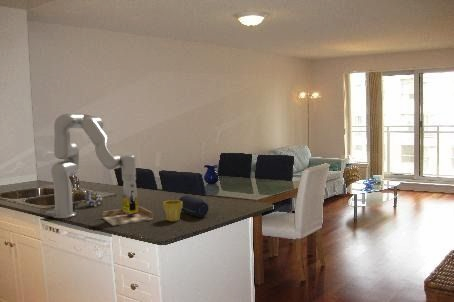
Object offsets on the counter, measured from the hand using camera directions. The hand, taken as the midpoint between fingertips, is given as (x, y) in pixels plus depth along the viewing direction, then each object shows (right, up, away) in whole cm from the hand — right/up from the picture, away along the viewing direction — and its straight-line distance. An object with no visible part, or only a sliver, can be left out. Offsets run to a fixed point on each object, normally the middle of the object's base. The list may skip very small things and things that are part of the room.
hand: (130, 208), depth 249 cm
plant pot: (+25, -5, -7) cm, 26 cm away
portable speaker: (+35, -4, +5) cm, 35 cm away
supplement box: (0, -3, 0) cm, 3 cm away
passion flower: (-32, -3, +38) cm, 50 cm away
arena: (-1, -5, -2) cm, 6 cm away
